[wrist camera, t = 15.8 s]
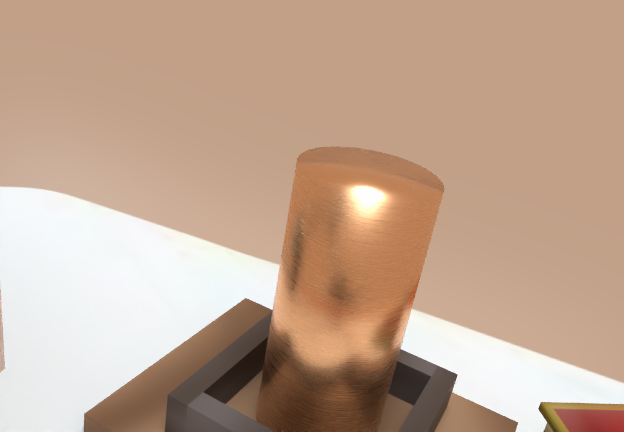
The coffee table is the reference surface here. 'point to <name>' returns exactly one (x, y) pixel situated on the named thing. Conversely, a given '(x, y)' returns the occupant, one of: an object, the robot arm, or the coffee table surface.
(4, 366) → the robot arm
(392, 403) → the duct base
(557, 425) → the hardcover book
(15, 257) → the coffee table surface
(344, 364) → the brushed copper cylinder
